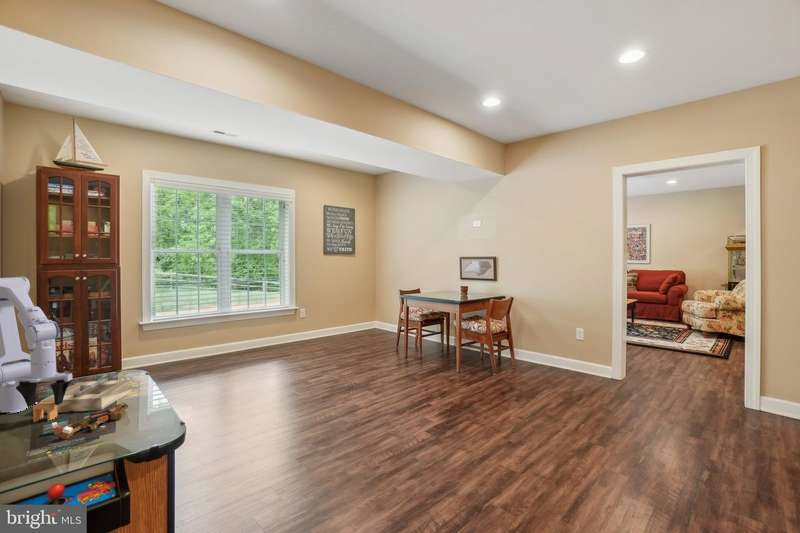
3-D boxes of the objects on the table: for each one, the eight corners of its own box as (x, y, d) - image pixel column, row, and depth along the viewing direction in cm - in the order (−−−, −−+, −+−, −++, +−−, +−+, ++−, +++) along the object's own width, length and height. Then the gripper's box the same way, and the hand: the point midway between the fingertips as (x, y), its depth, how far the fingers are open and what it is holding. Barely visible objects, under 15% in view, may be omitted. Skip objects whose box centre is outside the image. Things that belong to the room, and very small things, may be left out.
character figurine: (50, 434, 107) (50, 420, 107) (122, 410, 123) (122, 399, 123) (63, 442, 103) (63, 428, 102) (137, 417, 118) (136, 405, 118)
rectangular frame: (40, 413, 121) (39, 397, 120) (79, 392, 138) (79, 378, 138) (101, 409, 123) (101, 394, 123) (132, 390, 141) (132, 376, 141)
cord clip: (33, 421, 115) (32, 405, 114) (41, 417, 118) (40, 402, 117) (50, 420, 115) (49, 405, 115) (57, 416, 118) (56, 401, 118)
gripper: (5, 366, 111) (7, 411, 111) (59, 364, 113) (61, 408, 113) (25, 360, 118) (27, 402, 118) (76, 357, 120) (77, 399, 120)
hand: (45, 404), depth 116 cm, fingers open, 7 cm apart
